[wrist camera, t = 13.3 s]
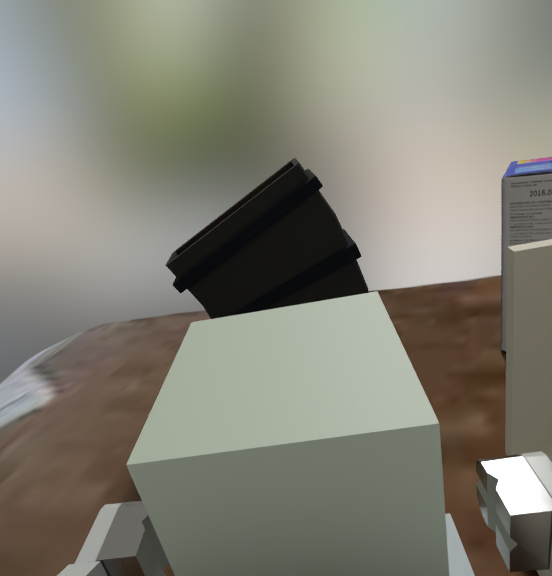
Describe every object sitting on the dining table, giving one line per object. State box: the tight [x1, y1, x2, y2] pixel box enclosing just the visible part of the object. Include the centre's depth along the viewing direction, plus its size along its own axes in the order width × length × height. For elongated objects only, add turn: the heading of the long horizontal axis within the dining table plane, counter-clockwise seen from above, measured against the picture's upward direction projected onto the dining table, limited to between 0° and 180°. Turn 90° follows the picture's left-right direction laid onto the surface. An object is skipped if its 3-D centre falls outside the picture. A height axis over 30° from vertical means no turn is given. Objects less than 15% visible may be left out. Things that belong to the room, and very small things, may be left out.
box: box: [127, 292, 449, 576], centre depth 11 cm, size 5×5×13 cm
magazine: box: [166, 158, 369, 319], centre depth 31 cm, size 4×13×15 cm, turn 93°
